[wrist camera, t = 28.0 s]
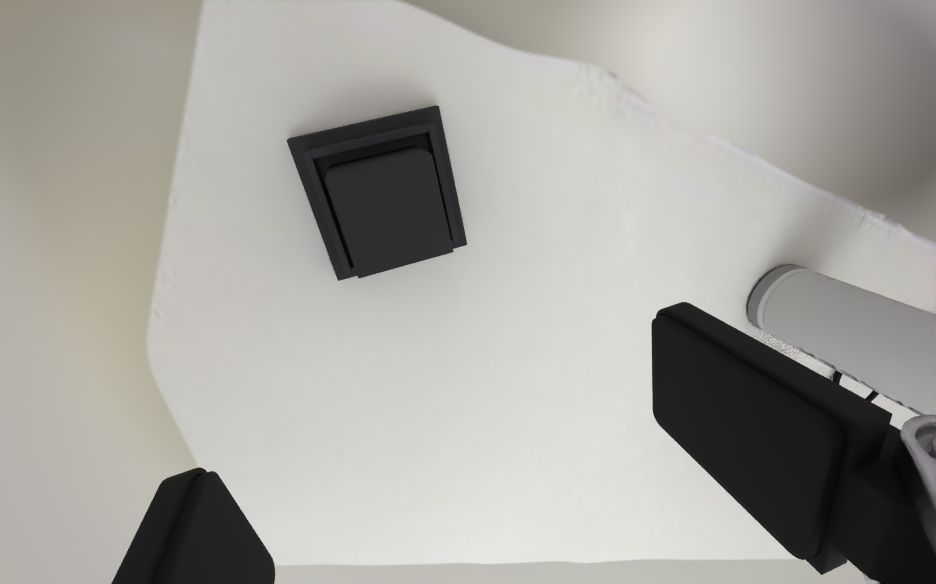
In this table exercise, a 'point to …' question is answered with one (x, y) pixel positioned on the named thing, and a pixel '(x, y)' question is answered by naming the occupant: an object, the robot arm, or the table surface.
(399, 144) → the base pad
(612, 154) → the table surface
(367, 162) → the black cube
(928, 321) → the travel mug
